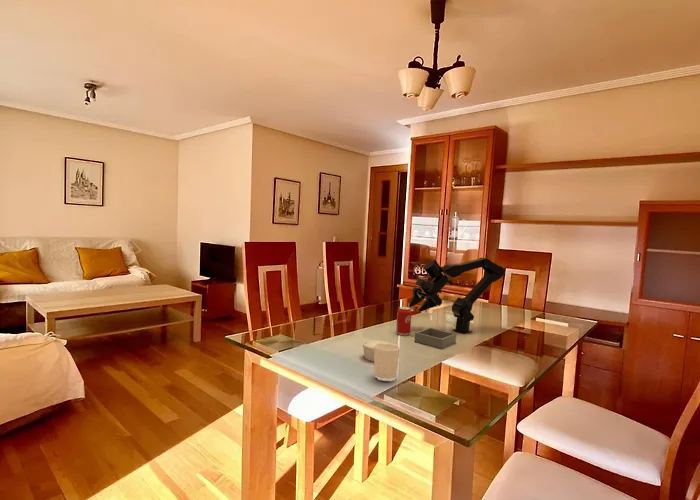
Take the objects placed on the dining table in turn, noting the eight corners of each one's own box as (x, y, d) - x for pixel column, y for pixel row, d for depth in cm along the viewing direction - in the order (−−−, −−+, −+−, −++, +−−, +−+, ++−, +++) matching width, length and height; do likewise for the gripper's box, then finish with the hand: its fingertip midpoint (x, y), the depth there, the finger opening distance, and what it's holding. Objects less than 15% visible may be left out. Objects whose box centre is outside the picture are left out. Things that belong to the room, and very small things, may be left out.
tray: (429, 336, 168) (429, 327, 168) (455, 343, 160) (456, 334, 160) (414, 342, 159) (415, 332, 158) (441, 349, 150) (442, 339, 150)
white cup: (370, 373, 121) (372, 342, 121) (395, 373, 122) (396, 343, 121) (374, 383, 113) (376, 350, 113) (400, 383, 114) (402, 351, 114)
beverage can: (409, 336, 166) (411, 309, 166) (395, 335, 168) (397, 308, 167) (410, 333, 173) (412, 307, 172) (396, 331, 174) (398, 305, 173)
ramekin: (362, 352, 141) (362, 338, 141) (391, 354, 141) (392, 340, 141) (362, 363, 130) (362, 348, 130) (394, 365, 130) (395, 350, 130)
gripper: (416, 270, 181) (394, 293, 178) (438, 275, 163) (413, 300, 160) (430, 286, 184) (408, 309, 181) (452, 293, 166) (428, 318, 163)
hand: (414, 308), depth 171 cm, fingers open, 9 cm apart
